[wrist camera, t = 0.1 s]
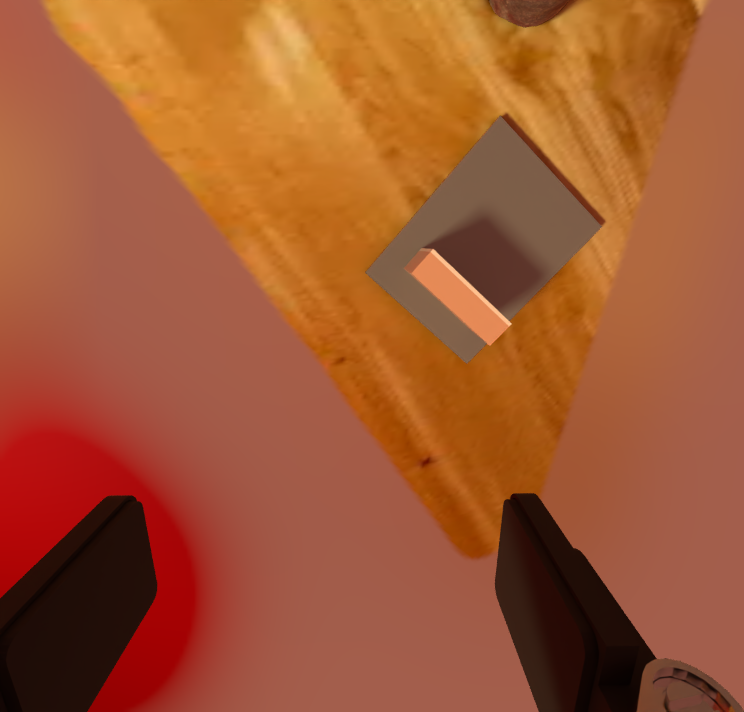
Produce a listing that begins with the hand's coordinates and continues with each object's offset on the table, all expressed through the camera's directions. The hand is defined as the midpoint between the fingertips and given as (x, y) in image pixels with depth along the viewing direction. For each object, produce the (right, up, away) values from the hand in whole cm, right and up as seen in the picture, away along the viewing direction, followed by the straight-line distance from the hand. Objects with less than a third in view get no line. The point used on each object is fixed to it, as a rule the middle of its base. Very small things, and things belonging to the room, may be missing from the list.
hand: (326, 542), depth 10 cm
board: (+12, +15, +28) cm, 34 cm away
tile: (+8, +11, +28) cm, 32 cm away
